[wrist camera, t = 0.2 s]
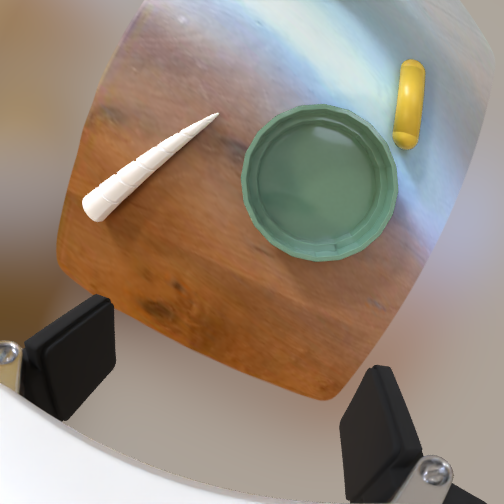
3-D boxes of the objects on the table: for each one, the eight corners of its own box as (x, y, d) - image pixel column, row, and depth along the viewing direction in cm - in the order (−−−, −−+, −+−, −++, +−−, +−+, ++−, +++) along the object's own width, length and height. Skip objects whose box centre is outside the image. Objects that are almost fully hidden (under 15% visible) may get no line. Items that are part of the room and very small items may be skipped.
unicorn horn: (233, 136, 37) (225, 130, 32) (106, 221, 43) (88, 226, 38) (216, 108, 36) (206, 99, 32) (94, 196, 42) (75, 199, 37)
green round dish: (263, 102, 35) (258, 91, 30) (395, 135, 34) (409, 129, 29) (237, 233, 40) (228, 242, 35) (365, 263, 39) (375, 275, 34)
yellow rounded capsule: (398, 60, 31) (406, 51, 27) (420, 69, 31) (429, 61, 27) (386, 146, 35) (395, 143, 31) (410, 154, 34) (420, 152, 31)
